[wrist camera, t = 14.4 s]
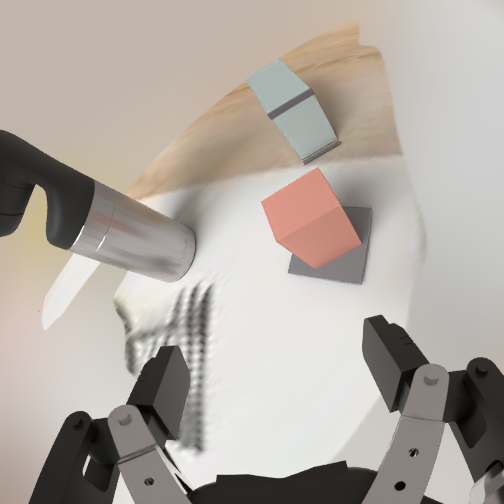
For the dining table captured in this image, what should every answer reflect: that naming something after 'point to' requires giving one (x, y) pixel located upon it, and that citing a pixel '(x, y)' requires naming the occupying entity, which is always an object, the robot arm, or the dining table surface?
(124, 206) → the robot arm
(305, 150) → the pale green block
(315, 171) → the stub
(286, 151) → the dining table surface
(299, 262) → the coaster
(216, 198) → the dining table surface
